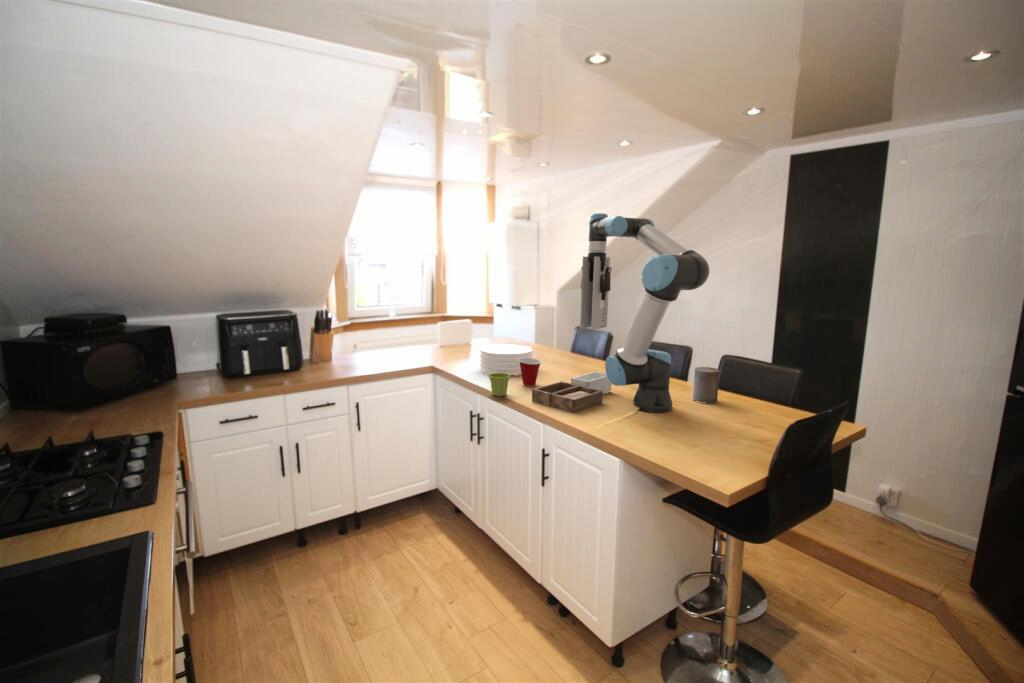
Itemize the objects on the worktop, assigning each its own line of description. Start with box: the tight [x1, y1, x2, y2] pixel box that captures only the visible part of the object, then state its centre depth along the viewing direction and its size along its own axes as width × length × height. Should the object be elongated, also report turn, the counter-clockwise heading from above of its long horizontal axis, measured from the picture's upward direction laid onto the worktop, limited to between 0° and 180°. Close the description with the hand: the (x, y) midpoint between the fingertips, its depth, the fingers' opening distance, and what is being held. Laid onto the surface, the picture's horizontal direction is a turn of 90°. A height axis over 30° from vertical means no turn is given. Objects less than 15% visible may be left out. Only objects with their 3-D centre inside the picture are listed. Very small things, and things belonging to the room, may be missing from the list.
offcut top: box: [562, 391, 590, 399], centre depth 182 cm, size 8×14×2 cm, turn 129°
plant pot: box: [488, 373, 511, 397], centre depth 198 cm, size 9×9×9 cm
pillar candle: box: [692, 365, 720, 404], centre depth 193 cm, size 10×10×15 cm
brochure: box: [579, 256, 611, 331], centre depth 194 cm, size 14×6×30 cm, turn 143°
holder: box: [570, 371, 612, 395], centre depth 201 cm, size 9×18×8 cm, turn 136°
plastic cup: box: [519, 357, 542, 387], centre depth 215 cm, size 11×11×12 cm
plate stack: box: [479, 343, 533, 376], centre depth 246 cm, size 28×28×12 cm
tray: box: [531, 380, 604, 414], centre depth 185 cm, size 21×19×6 cm
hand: (594, 307), depth 195 cm, fingers closed on brochure, 6 cm apart
